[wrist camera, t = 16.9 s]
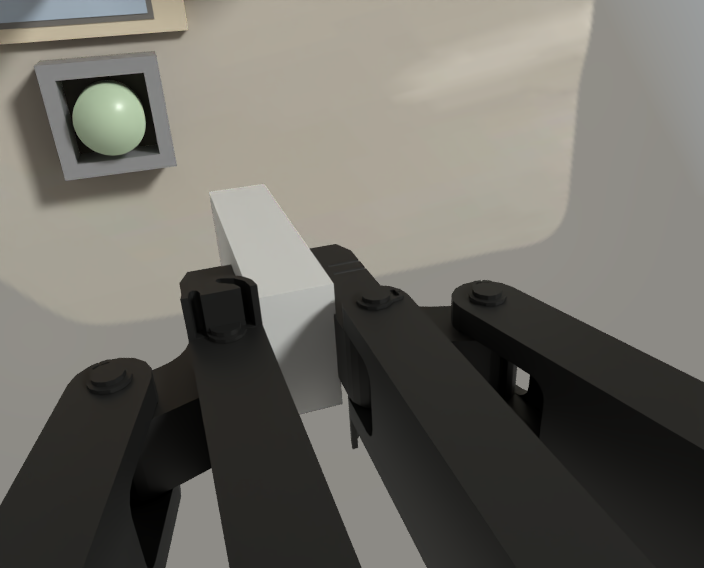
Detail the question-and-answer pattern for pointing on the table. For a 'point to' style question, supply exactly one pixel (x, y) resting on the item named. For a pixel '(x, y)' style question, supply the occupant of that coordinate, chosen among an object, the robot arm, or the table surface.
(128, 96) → the button
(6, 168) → the table surface
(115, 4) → the sheet
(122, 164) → the button collar
